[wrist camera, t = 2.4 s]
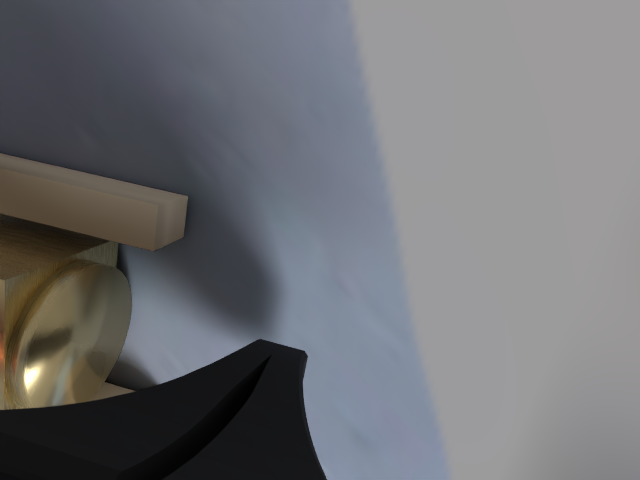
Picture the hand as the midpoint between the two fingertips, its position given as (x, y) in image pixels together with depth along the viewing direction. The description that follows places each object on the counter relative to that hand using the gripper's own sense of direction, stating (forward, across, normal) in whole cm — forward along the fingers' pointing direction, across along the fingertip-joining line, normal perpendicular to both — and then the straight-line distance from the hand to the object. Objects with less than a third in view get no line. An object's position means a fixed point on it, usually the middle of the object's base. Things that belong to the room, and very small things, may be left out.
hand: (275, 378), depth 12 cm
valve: (+1, +8, 0) cm, 8 cm away
